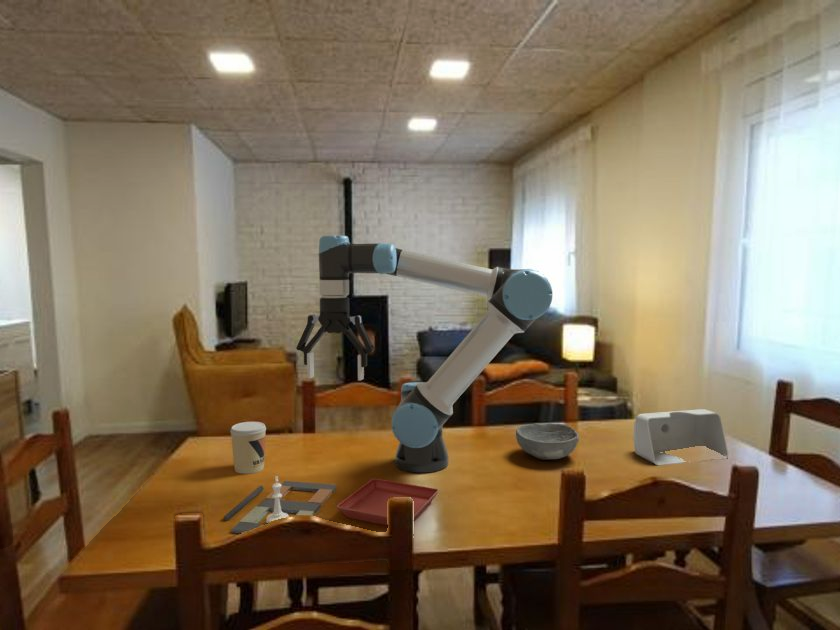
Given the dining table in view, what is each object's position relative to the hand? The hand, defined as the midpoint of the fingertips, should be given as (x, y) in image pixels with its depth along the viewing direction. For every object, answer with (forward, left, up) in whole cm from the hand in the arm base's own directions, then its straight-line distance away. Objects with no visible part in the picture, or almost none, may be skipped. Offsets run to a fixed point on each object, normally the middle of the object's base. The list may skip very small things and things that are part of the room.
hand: (335, 378), depth 141 cm
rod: (+16, +19, -27) cm, 36 cm away
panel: (+5, +19, -27) cm, 33 cm away
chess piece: (+5, +25, -27) cm, 37 cm away
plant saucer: (-18, +15, -27) cm, 36 cm away
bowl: (-55, -27, -27) cm, 67 cm away
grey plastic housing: (-93, -38, -27) cm, 104 cm away
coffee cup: (+26, -2, -27) cm, 37 cm away
